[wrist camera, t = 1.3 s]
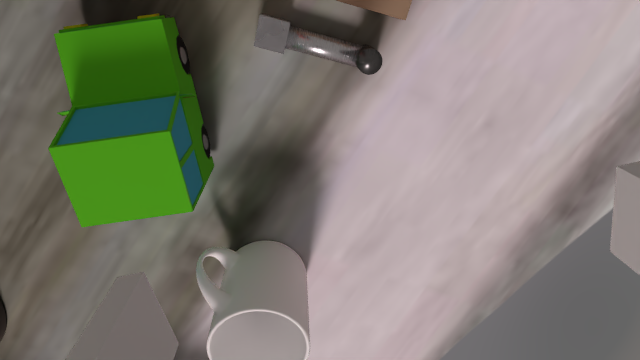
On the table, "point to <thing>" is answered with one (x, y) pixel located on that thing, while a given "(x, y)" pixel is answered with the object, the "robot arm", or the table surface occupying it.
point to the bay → (384, 6)
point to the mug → (257, 303)
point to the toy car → (130, 122)
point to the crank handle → (314, 44)
